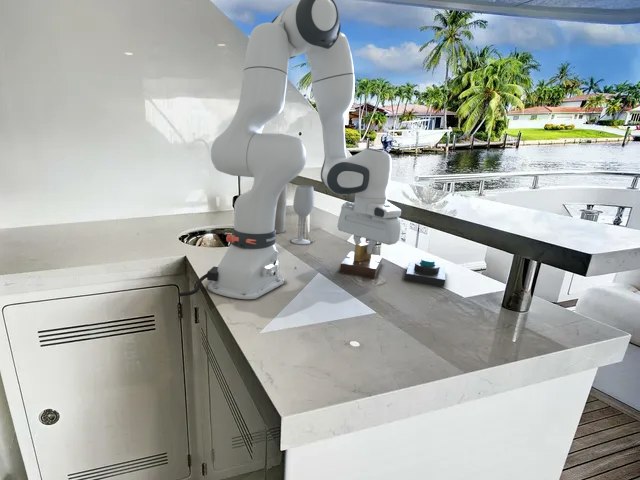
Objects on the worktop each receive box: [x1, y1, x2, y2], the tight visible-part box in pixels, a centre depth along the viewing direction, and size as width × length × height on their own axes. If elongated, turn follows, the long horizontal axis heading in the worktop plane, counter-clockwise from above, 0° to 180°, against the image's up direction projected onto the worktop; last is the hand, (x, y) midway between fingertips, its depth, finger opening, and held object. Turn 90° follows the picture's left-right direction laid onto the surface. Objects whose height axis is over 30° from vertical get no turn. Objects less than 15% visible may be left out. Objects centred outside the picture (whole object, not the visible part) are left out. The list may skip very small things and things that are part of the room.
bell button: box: [420, 257, 436, 267], centre depth 110 cm, size 4×4×2 cm
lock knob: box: [353, 240, 373, 262], centre depth 116 cm, size 6×2×5 cm, turn 125°
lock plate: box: [339, 251, 383, 279], centre depth 117 cm, size 14×10×3 cm
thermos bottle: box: [274, 184, 288, 234], centre depth 156 cm, size 8×8×28 cm
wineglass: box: [291, 184, 315, 245], centre depth 142 cm, size 8×8×21 cm
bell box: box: [404, 260, 446, 288], centre depth 111 cm, size 12×10×4 cm
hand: (363, 251), depth 116 cm, fingers closed on lock knob, 2 cm apart
